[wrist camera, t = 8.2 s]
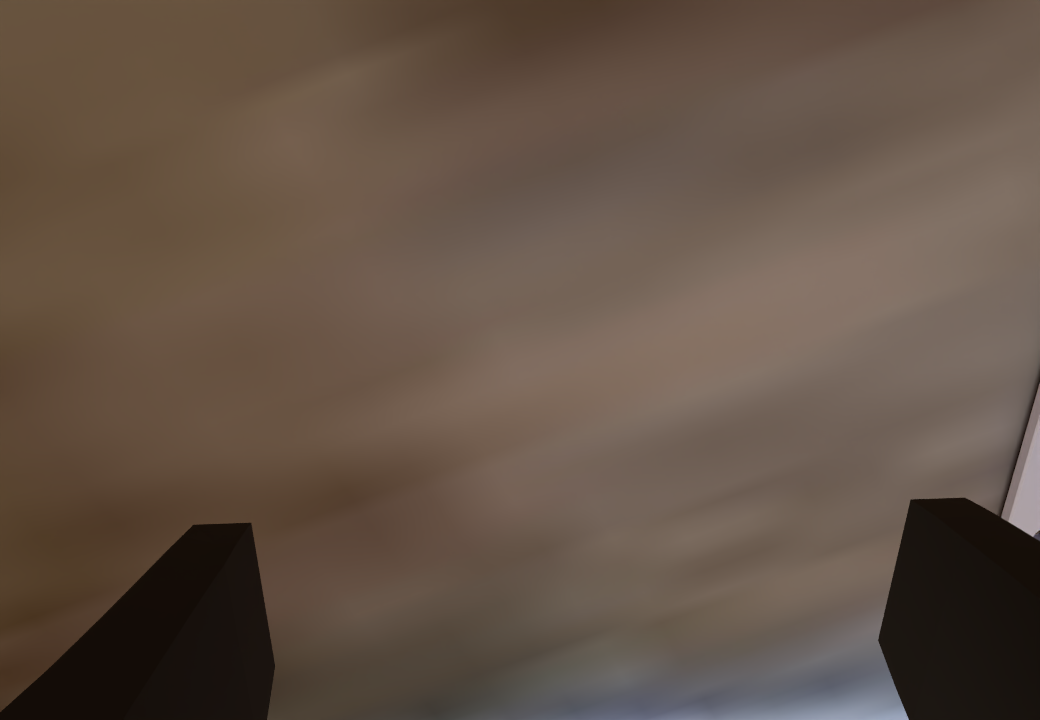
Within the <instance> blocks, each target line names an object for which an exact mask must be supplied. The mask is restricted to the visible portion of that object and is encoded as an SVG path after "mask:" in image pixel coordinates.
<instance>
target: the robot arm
mask: <svg viewBox="0 0 1040 720" xmlns="http://www.w3.org/2000/svg"><path fill="white" fill-rule="evenodd" d="M1038 531H1040V384H1039V388H1038V391H1037V395H1036V398H1035V401H1034V405H1033V408H1032V412H1031V415H1030V419H1029V422H1028V426H1027V429H1026V433H1025V436H1024V440H1023V443H1022V447H1021V450H1020V453H1019V457H1018V460H1017V464H1016V467H1015V471H1014V474H1013V478H1012V481H1011V485H1010V488H1009V492H1008V495H1007V498H1006V502H1005V505H1004V509H1003V512H1002V516H1001V517H999V516H997V515H996V514H994V513H992V512H990V511H989V510H987V509H985V508H983V507H981V506H980V505H978V504H976V503H974V502H972V501H970V500H968V499H966V498H942V499H913V500H910V505H909V509H908V513H907V518H906V522H905V526H904V531H903V535H902V539H901V544H900V548H899V552H898V557H897V561H896V565H895V570H894V574H893V578H892V583H891V587H890V591H889V596H888V600H887V604H886V609H885V613H884V617H883V622H882V626H881V630H880V634H879V639H878V641H879V644H880V646H881V649H882V652H883V654H884V657H885V660H886V662H887V665H888V668H889V671H890V673H891V676H892V679H893V681H894V684H895V687H896V689H897V692H898V694H899V696H900V699H901V701H902V704H903V706H904V709H905V711H906V714H907V716H908V718H909V720H1040V533H1039V534H1037V535H1035V533H1037V532H1038ZM274 669H275V663H274V657H273V651H272V645H271V639H270V633H269V627H268V621H267V615H266V609H265V603H264V597H263V591H262V585H261V579H260V573H259V567H258V561H257V555H256V549H255V543H254V537H253V531H252V525H251V523H233V524H204V525H193V526H192V527H191V528H190V529H189V530H188V531H187V532H186V533H185V534H184V535H183V536H182V537H181V538H180V539H179V540H178V541H177V542H176V543H175V544H174V545H172V546H171V547H170V548H169V549H168V550H167V551H166V552H165V553H164V554H163V556H162V557H161V558H160V559H159V560H158V561H157V562H156V563H155V564H154V565H153V566H152V567H151V568H150V569H149V570H148V571H147V572H146V573H145V574H144V575H143V576H142V577H141V578H140V579H139V580H138V581H137V582H136V583H135V584H134V585H133V586H132V587H131V588H130V589H129V590H128V591H127V592H126V593H125V594H124V595H123V596H122V597H121V598H120V599H119V600H118V601H117V602H116V603H115V604H114V605H113V606H112V607H111V608H110V609H109V610H108V611H107V612H106V613H105V614H104V615H103V616H102V617H101V618H100V619H99V620H98V621H97V622H96V623H95V624H94V625H93V626H92V627H91V628H90V629H89V630H88V631H87V632H86V633H85V634H84V635H83V636H82V637H81V638H80V639H79V640H78V641H77V642H76V643H75V644H74V645H73V646H72V647H71V648H70V649H68V650H67V651H66V652H65V653H64V654H63V655H62V656H61V657H60V658H59V659H58V660H57V661H56V662H55V663H54V664H53V665H52V666H51V667H50V668H49V669H48V670H47V671H46V672H45V673H44V674H42V675H41V676H40V677H39V678H38V679H37V680H36V681H35V682H34V683H32V684H31V685H30V686H29V687H28V688H27V689H26V690H25V691H23V692H22V693H21V694H20V695H19V696H18V697H17V698H16V699H15V700H13V701H12V702H11V703H10V704H9V705H8V706H7V707H6V708H5V709H3V710H2V711H1V712H0V720H267V715H268V709H269V702H270V696H271V689H272V683H273V676H274Z"/></svg>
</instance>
